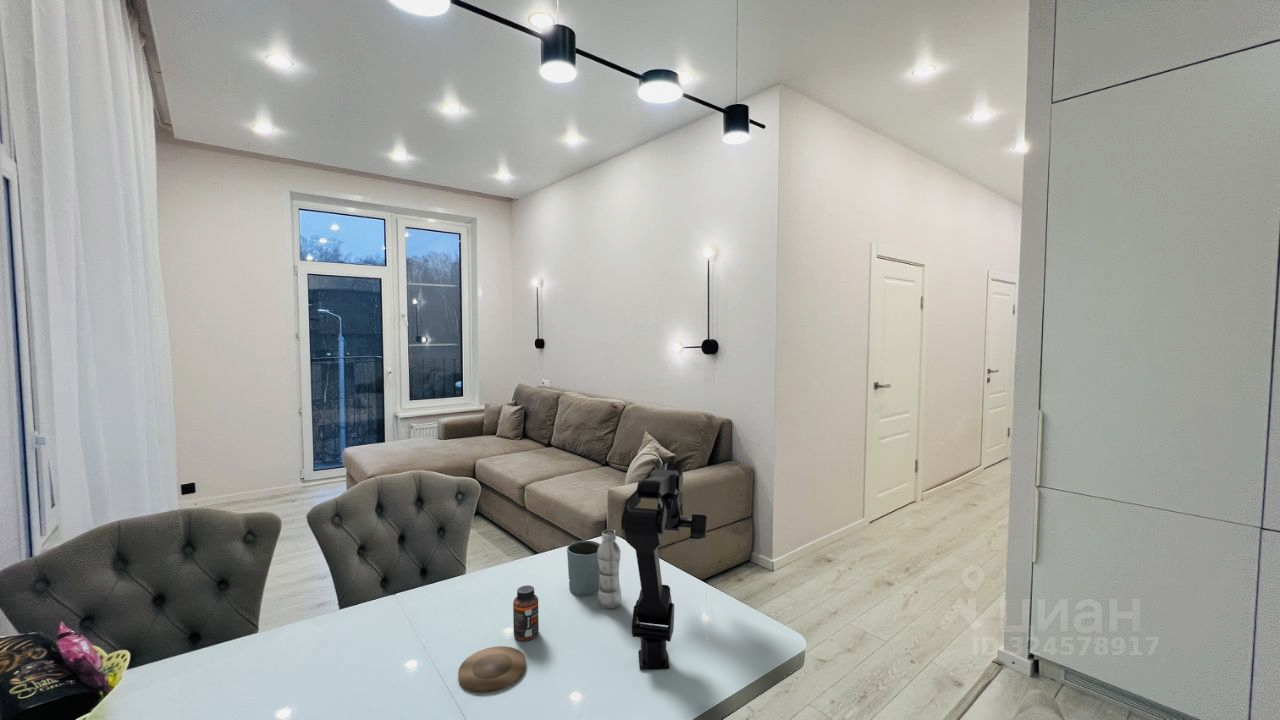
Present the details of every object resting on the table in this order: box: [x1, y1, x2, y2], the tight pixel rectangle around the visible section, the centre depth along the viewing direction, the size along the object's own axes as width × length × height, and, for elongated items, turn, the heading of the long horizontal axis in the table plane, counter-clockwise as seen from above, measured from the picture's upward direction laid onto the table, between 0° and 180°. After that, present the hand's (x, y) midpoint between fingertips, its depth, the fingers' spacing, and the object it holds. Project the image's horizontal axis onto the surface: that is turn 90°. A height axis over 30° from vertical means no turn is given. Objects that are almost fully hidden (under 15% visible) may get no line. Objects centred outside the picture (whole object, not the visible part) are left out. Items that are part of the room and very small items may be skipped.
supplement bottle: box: [512, 584, 540, 641], centre depth 124 cm, size 6×6×11 cm
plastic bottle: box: [597, 529, 623, 610], centre depth 137 cm, size 6×7×20 cm
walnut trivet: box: [457, 645, 527, 694], centre depth 111 cm, size 14×14×1 cm
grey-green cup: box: [566, 540, 601, 597], centre depth 147 cm, size 10×10×12 cm
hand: (674, 542), depth 142 cm, fingers open, 9 cm apart
